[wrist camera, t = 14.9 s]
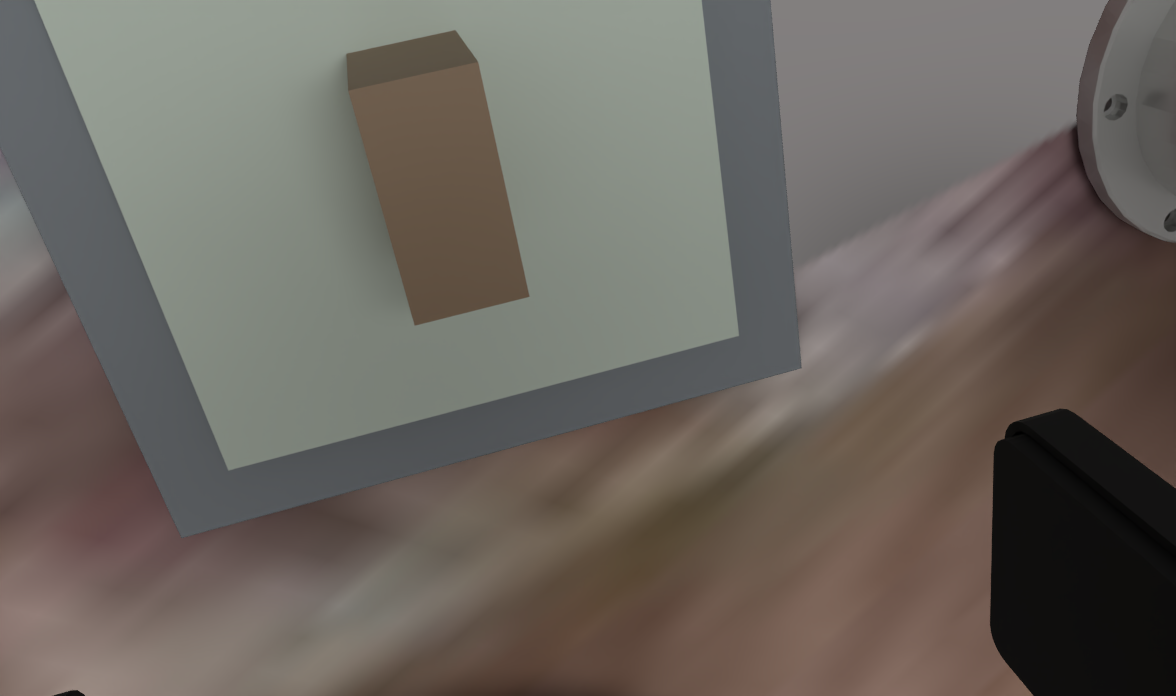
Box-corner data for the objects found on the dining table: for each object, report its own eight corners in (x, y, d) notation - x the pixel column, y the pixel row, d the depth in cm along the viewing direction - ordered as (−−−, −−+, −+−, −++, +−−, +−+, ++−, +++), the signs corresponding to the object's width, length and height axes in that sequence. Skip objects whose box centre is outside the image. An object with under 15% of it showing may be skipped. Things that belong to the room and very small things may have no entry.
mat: (730, -368, 26) (738, -373, 25) (794, 360, 36) (801, 368, 36) (-155, -210, 23) (-166, -211, 23) (183, 527, 34) (181, 538, 33)
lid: (662, -244, 26) (743, -272, 21) (728, 323, 34) (799, 407, 29) (-2, -120, 24) (-97, -115, 19) (231, 453, 32) (210, 569, 27)
